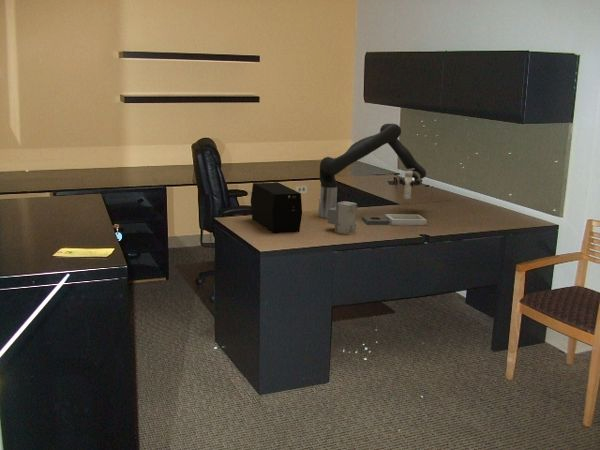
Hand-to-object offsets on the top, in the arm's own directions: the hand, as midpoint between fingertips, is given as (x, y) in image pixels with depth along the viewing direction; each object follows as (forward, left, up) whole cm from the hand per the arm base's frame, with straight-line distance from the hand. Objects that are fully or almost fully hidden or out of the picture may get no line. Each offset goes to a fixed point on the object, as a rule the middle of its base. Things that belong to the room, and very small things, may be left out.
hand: (407, 183), depth 358 cm
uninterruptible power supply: (-72, -5, -22) cm, 75 cm away
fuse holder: (-16, +3, -22) cm, 27 cm away
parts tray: (+1, +2, -22) cm, 22 cm away
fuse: (+1, +3, -8) cm, 9 cm away
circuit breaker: (-40, -16, -22) cm, 48 cm away
